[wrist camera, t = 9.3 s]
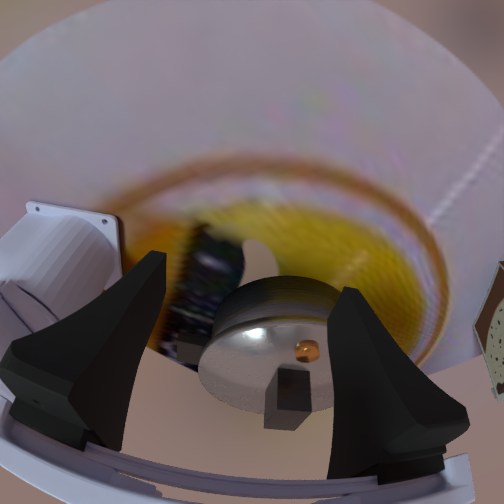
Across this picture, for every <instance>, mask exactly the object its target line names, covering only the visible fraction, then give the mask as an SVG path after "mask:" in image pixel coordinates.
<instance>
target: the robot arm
mask: <svg viewBox="0 0 504 504" xmlns="http://www.w3.org/2000/svg"><path fill="white" fill-rule="evenodd" d="M26 209H27V214H26V215H25V216H23V217H22V218H21V219H20V220H19V221H18V222H17V223H16V224H15V225H14V226H13V227H12V228H11V229H10V230H9V231H8V232H7V233H6V234H5V235H4V236H3V237H2V238H1V239H0V465H1V466H2V467H4V468H5V469H7V470H8V471H10V472H11V473H13V474H14V475H16V476H18V477H19V478H21V479H22V480H24V481H26V482H28V483H29V484H31V485H33V486H35V487H36V488H38V489H40V490H42V491H43V492H45V493H47V494H49V495H51V496H53V497H55V498H57V499H59V500H61V501H63V502H65V503H67V504H202V503H195V502H188V501H182V500H176V499H171V498H165V497H162V493H161V492H160V491H158V490H156V487H155V486H154V485H152V484H149V483H146V482H143V481H140V480H137V479H134V478H131V477H129V476H126V475H130V476H133V477H136V478H140V479H143V480H147V481H151V482H155V483H159V484H164V485H168V486H173V487H178V488H183V489H188V490H194V491H200V492H206V493H213V494H221V495H229V496H240V497H252V498H271V499H272V498H274V499H310V498H331V497H340V498H334V499H326V500H318V501H317V502H315V503H312V504H469V503H471V502H473V501H474V500H475V493H474V486H473V480H472V474H471V468H470V463H469V458H468V454H467V453H463V454H460V455H456V456H452V457H449V458H446V459H444V460H443V455H442V454H444V453H446V444H448V443H449V442H451V441H453V440H454V439H456V438H457V437H459V436H460V435H462V434H463V433H464V432H465V431H467V430H468V428H469V426H470V422H469V418H468V414H467V411H466V408H465V407H464V406H463V405H462V404H460V403H459V402H457V401H456V400H455V399H453V398H452V397H450V396H449V395H448V394H446V393H445V392H444V391H443V390H442V389H440V388H439V387H438V386H437V385H436V384H434V383H433V382H432V381H431V380H430V379H429V378H428V377H427V376H426V375H425V374H424V373H423V372H422V371H421V370H420V369H419V368H418V367H417V366H416V365H415V364H414V363H413V362H412V361H411V360H410V359H409V357H408V356H407V355H406V354H405V353H404V352H403V351H402V349H401V348H400V347H399V346H398V344H397V343H396V342H395V340H394V339H393V338H392V337H391V335H390V334H389V332H388V331H387V330H386V328H385V327H384V326H383V324H382V323H381V321H380V320H379V318H378V317H377V316H376V314H375V313H374V311H373V310H372V308H371V307H370V305H369V304H368V302H367V301H366V300H365V298H364V297H363V295H362V294H361V293H360V291H359V290H358V289H356V288H350V287H344V288H343V290H342V292H341V294H340V296H339V298H338V300H337V302H336V304H335V306H334V308H333V309H332V311H331V313H330V315H329V317H328V319H327V343H328V351H329V358H330V365H331V373H332V381H333V390H334V422H333V438H332V448H331V456H330V463H329V469H328V475H327V480H273V479H256V478H245V477H234V476H226V475H219V474H211V473H205V472H199V471H193V470H188V469H183V468H178V467H173V466H168V465H164V464H160V463H155V462H152V461H148V460H144V459H140V458H137V457H133V456H130V455H126V454H123V453H120V452H119V451H121V448H122V441H123V434H124V427H125V422H126V417H127V412H128V407H129V402H130V398H131V393H132V389H133V385H134V381H135V377H136V373H137V369H138V365H139V363H140V360H141V357H142V354H143V352H144V349H145V347H146V344H147V342H148V339H149V337H150V335H151V332H152V330H153V327H154V325H155V322H156V320H157V318H158V315H159V313H160V310H161V306H162V303H163V299H164V296H165V292H166V254H167V253H163V252H158V251H153V250H151V251H150V252H149V253H148V254H147V255H145V256H144V257H143V258H142V259H141V260H140V261H139V262H138V263H137V264H136V265H135V266H134V267H133V268H131V269H130V270H129V271H128V272H127V273H126V274H125V275H124V276H123V275H122V266H121V255H120V243H119V230H118V220H117V218H116V217H115V216H113V215H108V214H102V213H97V212H91V211H86V210H80V209H75V208H69V207H63V206H58V205H52V204H46V203H41V202H35V201H29V202H28V203H27V204H26ZM104 219H105V220H107V222H105V220H104ZM103 289H104V290H106V291H104V292H103V293H102V291H103ZM101 293H102V294H101ZM100 294H101V295H100ZM118 472H119V473H118ZM120 473H122V474H120ZM123 474H126V475H123Z"/></svg>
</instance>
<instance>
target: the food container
mask: <svg viewBox="0 0 504 504" xmlns="http://www.w3.org/2000/svg"><path fill="white" fill-rule="evenodd" d="M473 329H474V331H475V334H476V337H477V339H478V342H479V345H480V347H481V350H482V353H483V356H484V359H485V362H486V364H487V367H488V370H489V373H490V377H491V380H492V383H493V387H494V388H491V391H492V393H493V395H494V397H495V398H497V401H498V402H501V401H503V400H504V261H500V262H498V265H497V268H496V271H495V273H494V276H493V279H492V281H491V284H490V287H489V289H488V292H487V294H486V296H485V299H484V301H483V304H482V306H481V308H480V310H479V313H478V315H477V317H476V319H475V321H474V323H473Z"/></svg>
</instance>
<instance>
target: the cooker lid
mask: <svg viewBox="0 0 504 504" xmlns="http://www.w3.org/2000/svg"><path fill="white" fill-rule="evenodd" d="M198 375H199V378H200V381H201V383H202V385H203V386H204V387H205V389H206V390H207V391H208V392H209V393H210V394H212V395H213V396H214V397H216V398H217V399H219V400H221V401H222V402H224V403H226V404H228V405H230V406H233V407H236V408H239V409H242V410H245V411H249V412H254V413H260V414H264V428H266V429H278V430H291V431H294V430H296V429H297V428H298V426H299V425H300V424H301V423H302V422H303V421H304V420H305V419H306V418H307V417H308V416H309V415H310V414H311V413H312V412H316V411H320V410H324V409H327V408H330V407H333V406H334V390H333V381H332V373H331V365H330V358H329V351H328V343H327V319H325V318H320V317H314V316H304V315H280V316H269V317H262V318H257V319H253V320H248V321H245V322H242V323H239V324H236V325H233V326H231V327H229V328H227V329H225V330H223V331H221V332H220V333H218V334H217V335H215V336H214V337H213V338H212V339H211V340H209V342H208V343H207V344H206V345H205V347H204V349H203V351H202V353H201V357H200V362H199V367H198Z"/></svg>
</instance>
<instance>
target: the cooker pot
mask: <svg viewBox="0 0 504 504" xmlns="http://www.w3.org/2000/svg"><path fill="white" fill-rule="evenodd" d="M340 294H341V292H339V291H338V290H337V289H335V288H334V287H332V286H330V285H328V284H326V283H324V282H321V281H318V280H315V279H311V278H306V277H299V276H274V277H268V278H263V279H259V280H255V281H252V282H250V283H247V284H245V285H243V286H241V287H239V288H237V289H235V290H234V291H233V292H231V293H230V294H229V295H228V296H227V297H225V298H224V299H223V301H222V302H221V303H220V305H219V307H218V309H217V311H216V314H215V318H214V323H213V328H212V334H211V337H206V336H201V335H196V334H191V333H186V332H181V331H180V332H179V335H178V339H177V361H180V362H185V363H190V364H194V365H199V362H200V357H201V353H202V351H203V349H204V347H205V345H206V344H207V343H208V342H209V340H211V339H212V338H213V337H214V336H215V335H217V334H218V333H220V332H221V331H223V330H225V329H227V328H229V327H231V326H233V325H236V324H239V323H242V322H245V321H248V320H253V319H257V318H262V317H269V316H280V315H304V316H314V317H320V318H325V319H328V317H329V315H330V313H331V311H332V309H333V308H334V306H335V304H336V302H337V300H338V298H339V296H340Z"/></svg>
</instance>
